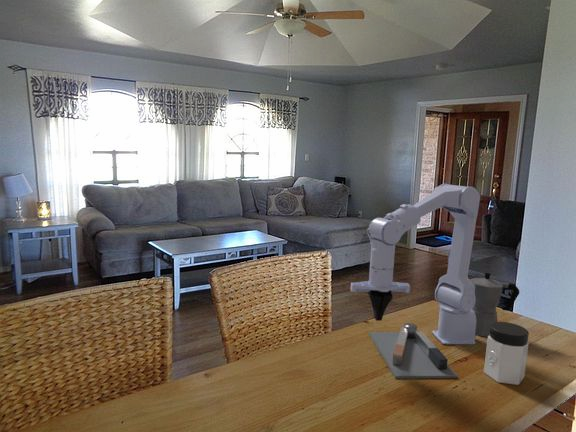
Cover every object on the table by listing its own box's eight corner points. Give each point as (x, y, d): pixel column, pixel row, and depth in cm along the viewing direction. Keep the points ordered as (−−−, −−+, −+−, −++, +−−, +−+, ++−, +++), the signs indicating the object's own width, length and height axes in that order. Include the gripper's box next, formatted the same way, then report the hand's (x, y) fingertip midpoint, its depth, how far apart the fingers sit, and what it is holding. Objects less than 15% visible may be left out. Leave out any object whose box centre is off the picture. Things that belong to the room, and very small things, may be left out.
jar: (476, 368, 107) (481, 322, 105) (502, 364, 109) (508, 319, 107) (504, 387, 98) (510, 338, 96) (532, 383, 101) (538, 334, 99)
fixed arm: (414, 339, 119) (414, 331, 119) (421, 339, 120) (422, 331, 119) (438, 369, 104) (439, 359, 103) (446, 369, 104) (447, 359, 103)
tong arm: (401, 331, 124) (402, 321, 124) (416, 334, 123) (417, 324, 122) (392, 363, 106) (393, 352, 105) (410, 367, 104) (411, 355, 104)
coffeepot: (457, 332, 127) (464, 273, 124) (457, 321, 136) (462, 265, 133) (516, 342, 122) (524, 281, 119) (511, 329, 131) (518, 272, 128)
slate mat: (368, 334, 124) (368, 332, 124) (419, 334, 125) (419, 332, 125) (395, 378, 100) (395, 376, 100) (457, 377, 102) (457, 375, 102)
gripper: (356, 271, 102) (353, 325, 104) (416, 271, 103) (411, 325, 105) (350, 263, 109) (346, 314, 111) (406, 263, 110) (401, 314, 112)
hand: (377, 319), depth 109 cm, fingers closed
